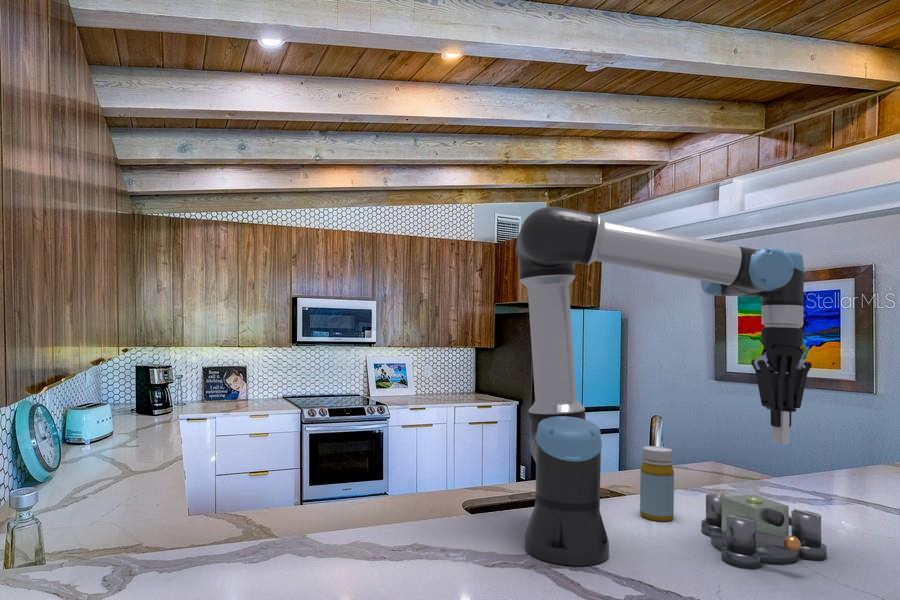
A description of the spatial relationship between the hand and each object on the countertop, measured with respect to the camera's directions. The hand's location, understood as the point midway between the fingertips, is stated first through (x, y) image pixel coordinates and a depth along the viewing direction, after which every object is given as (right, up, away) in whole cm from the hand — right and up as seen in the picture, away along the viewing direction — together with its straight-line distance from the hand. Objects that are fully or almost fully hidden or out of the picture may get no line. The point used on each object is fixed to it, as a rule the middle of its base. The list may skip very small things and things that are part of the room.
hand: (780, 443), depth 119 cm
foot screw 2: (-12, -15, -16) cm, 26 cm away
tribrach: (-10, -18, -5) cm, 22 cm away
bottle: (-21, -19, +11) cm, 31 cm away
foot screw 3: (-2, -16, -6) cm, 18 cm away
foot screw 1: (-11, -17, +4) cm, 20 cm away
